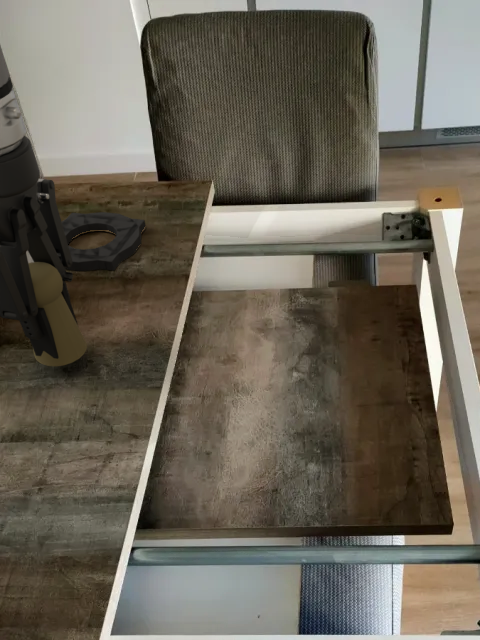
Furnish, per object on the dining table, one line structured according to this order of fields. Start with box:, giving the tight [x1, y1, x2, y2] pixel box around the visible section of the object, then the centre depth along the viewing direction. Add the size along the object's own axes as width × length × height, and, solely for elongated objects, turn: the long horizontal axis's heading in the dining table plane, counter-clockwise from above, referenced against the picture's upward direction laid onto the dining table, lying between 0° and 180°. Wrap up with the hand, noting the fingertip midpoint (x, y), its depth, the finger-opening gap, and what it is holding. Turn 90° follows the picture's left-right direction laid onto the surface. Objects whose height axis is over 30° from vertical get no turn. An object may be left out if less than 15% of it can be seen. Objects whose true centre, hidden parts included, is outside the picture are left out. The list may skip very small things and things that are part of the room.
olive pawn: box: [28, 262, 88, 367], centre depth 74 cm, size 6×6×11 cm
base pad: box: [57, 211, 147, 272], centre depth 97 cm, size 14×14×2 cm
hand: (58, 341), depth 77 cm, fingers closed on olive pawn, 4 cm apart
